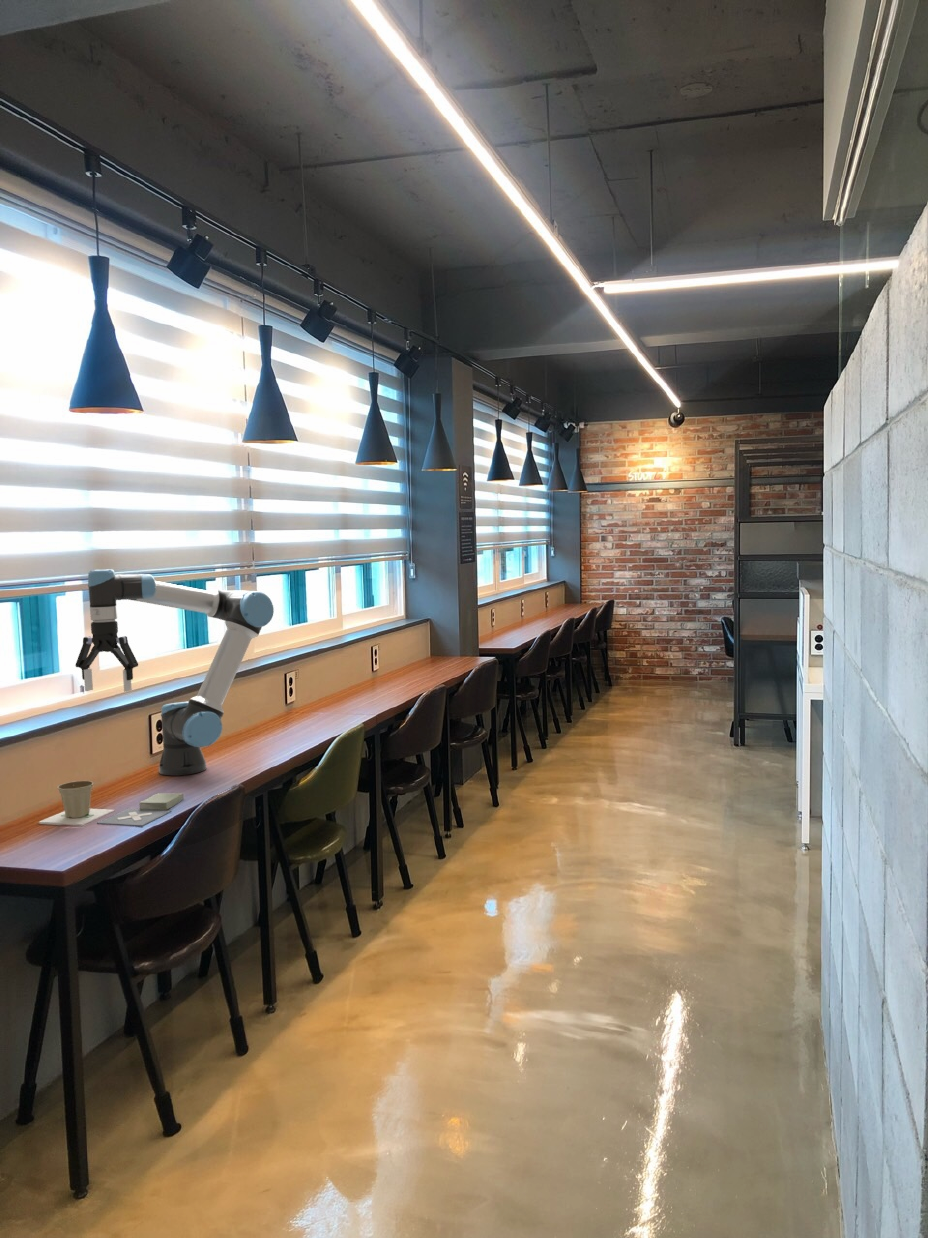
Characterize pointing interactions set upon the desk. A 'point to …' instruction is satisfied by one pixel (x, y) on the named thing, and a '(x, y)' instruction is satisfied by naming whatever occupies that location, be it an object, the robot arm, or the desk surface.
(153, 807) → the notebook
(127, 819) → the pad
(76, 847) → the desk surface
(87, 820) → the pad
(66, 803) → the flower pot
